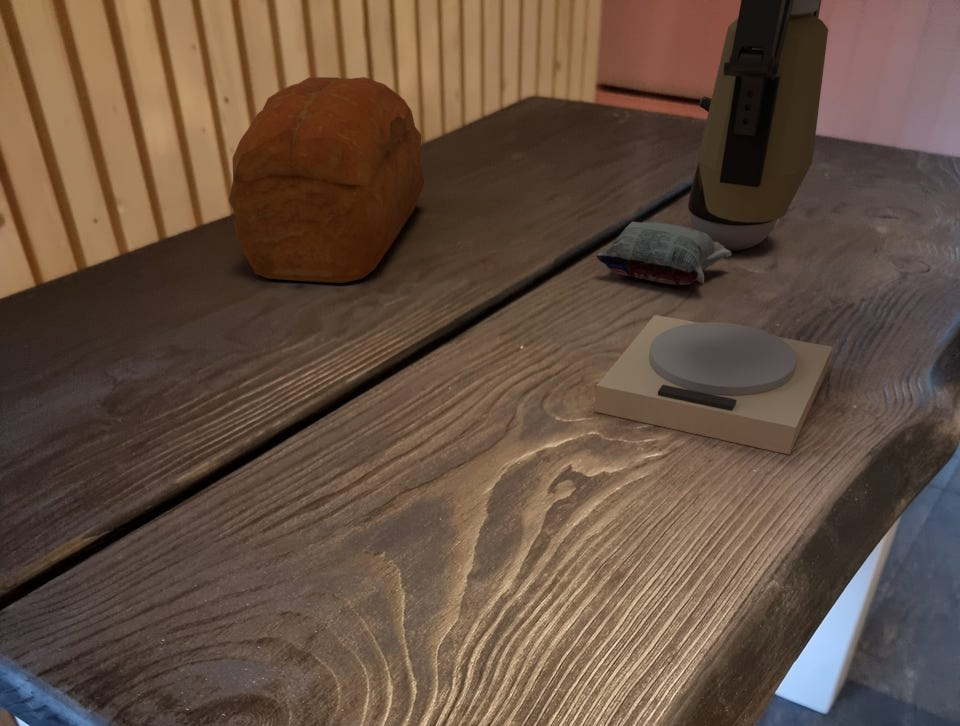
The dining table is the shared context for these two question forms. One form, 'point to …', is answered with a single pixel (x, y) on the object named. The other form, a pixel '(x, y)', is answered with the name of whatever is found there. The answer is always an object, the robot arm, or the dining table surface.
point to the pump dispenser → (722, 229)
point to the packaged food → (662, 253)
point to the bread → (325, 179)
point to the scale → (716, 382)
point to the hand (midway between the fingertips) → (755, 165)
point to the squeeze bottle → (788, 128)
